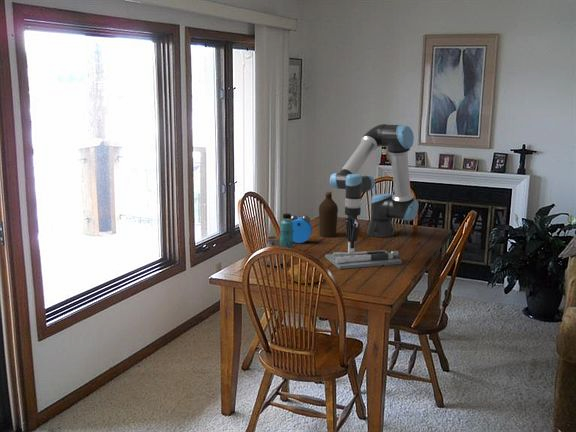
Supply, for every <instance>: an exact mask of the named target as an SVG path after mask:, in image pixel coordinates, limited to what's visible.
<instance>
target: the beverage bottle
mask: <svg viewBox="0 0 576 432" xmlns="http://www.w3.org/2000/svg"><path fill="white" fill-rule="evenodd" d="M291 215H292V214H291V213H286V212H285V213H283V214H282V220H281V222H280V236H279V237H280V239H279V244H280V246H282V247H288V248H292V249H293V244H294V242H293V222H292V221H291V220H289V219H290V218H291Z"/></svg>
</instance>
